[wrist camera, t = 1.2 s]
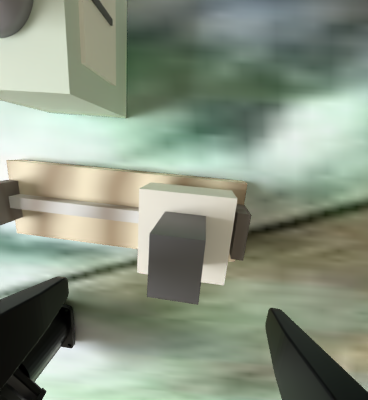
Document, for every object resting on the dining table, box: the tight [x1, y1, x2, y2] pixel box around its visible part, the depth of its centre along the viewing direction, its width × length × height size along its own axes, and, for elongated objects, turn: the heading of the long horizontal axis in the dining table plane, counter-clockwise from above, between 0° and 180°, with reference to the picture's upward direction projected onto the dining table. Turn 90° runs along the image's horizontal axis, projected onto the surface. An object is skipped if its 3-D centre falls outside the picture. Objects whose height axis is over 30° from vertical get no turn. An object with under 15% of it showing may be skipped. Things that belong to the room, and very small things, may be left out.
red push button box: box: [0, 0, 127, 118], centre depth 14 cm, size 10×8×9 cm
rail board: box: [0, 160, 251, 262], centre depth 19 cm, size 24×8×4 cm, turn 85°
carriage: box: [137, 182, 237, 305], centre depth 15 cm, size 7×7×8 cm
